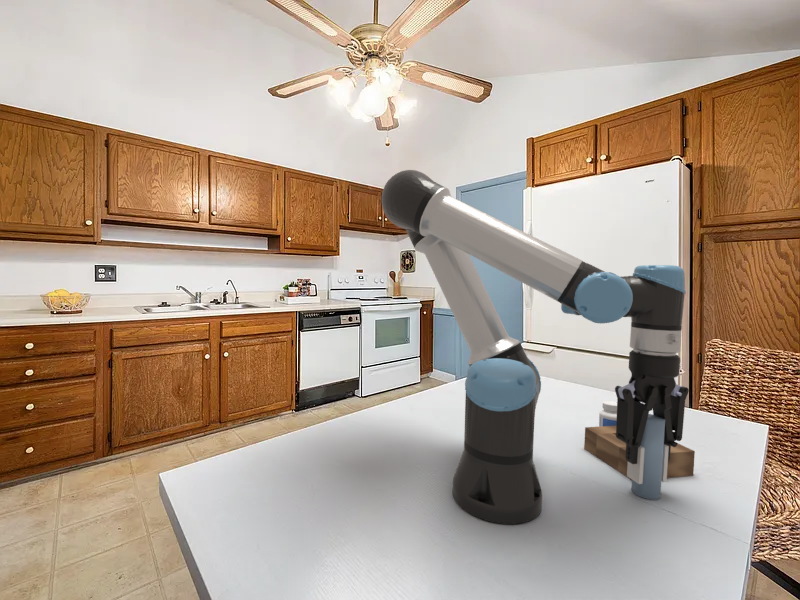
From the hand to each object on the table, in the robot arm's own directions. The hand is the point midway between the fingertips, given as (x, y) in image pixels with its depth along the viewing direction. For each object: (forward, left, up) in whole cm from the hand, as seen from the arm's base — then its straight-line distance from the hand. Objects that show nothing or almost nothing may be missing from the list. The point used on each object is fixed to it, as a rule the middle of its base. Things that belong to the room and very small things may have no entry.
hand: (646, 478), depth 67 cm
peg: (0, 0, -3) cm, 3 cm away
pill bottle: (+11, +20, -3) cm, 23 cm away
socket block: (+8, +11, -3) cm, 14 cm away
